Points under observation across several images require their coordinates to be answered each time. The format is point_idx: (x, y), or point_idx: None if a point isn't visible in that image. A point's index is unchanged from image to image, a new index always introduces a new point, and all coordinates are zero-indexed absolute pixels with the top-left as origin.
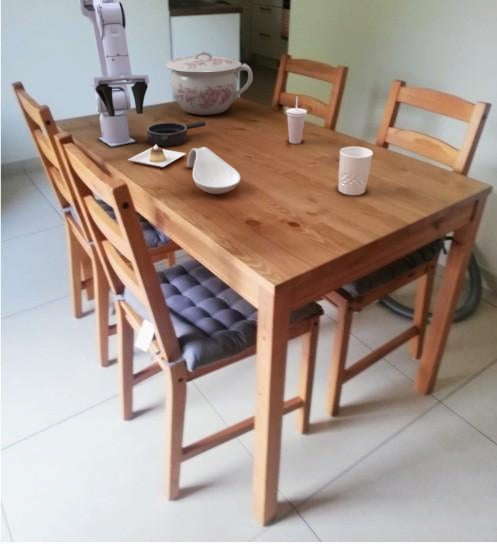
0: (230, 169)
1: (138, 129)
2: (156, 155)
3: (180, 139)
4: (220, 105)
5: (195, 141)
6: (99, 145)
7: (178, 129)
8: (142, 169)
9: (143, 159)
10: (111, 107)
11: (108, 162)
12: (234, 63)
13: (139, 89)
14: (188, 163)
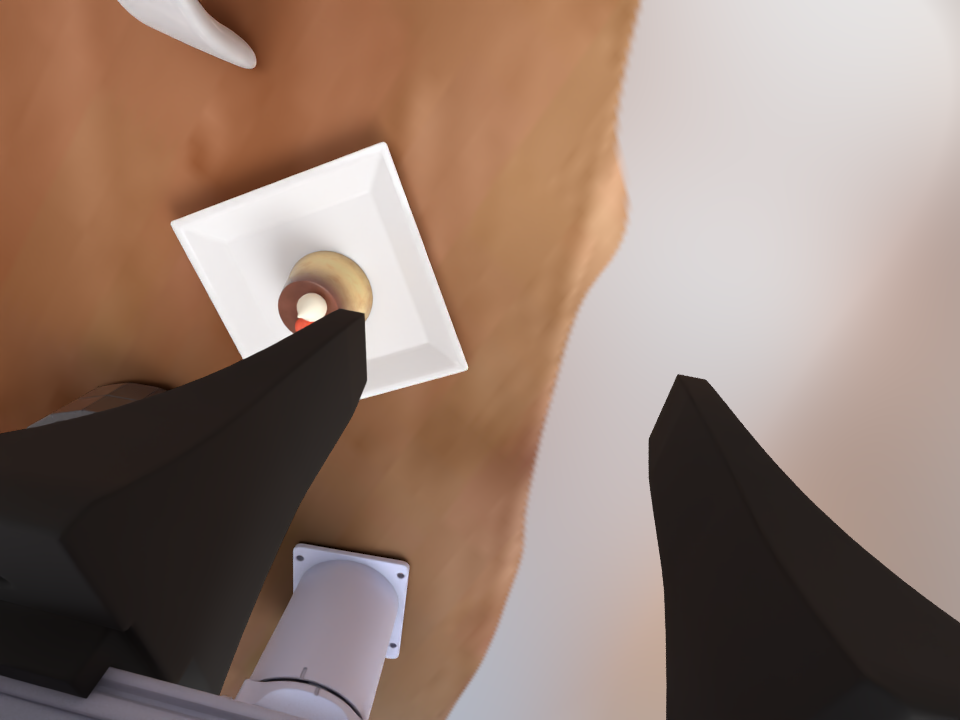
0: None
1: None
2: (338, 278)
3: (110, 392)
4: None
5: (44, 371)
6: (436, 607)
7: None
8: (464, 243)
9: (386, 345)
10: (743, 433)
11: (528, 434)
12: None
13: (170, 475)
14: (242, 44)
